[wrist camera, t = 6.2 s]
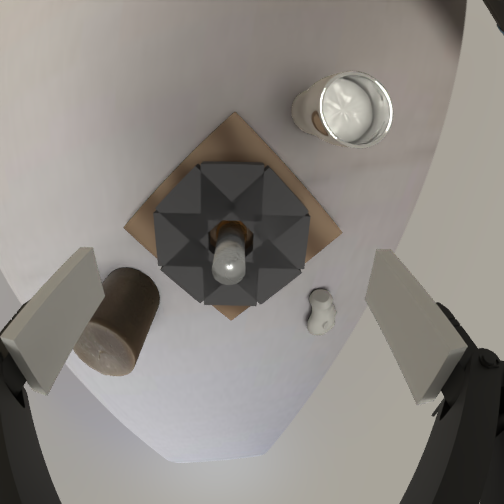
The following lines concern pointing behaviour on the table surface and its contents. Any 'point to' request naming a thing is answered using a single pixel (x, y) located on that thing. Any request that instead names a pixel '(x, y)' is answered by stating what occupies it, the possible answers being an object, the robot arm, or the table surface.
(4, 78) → the table surface
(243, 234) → the steel post
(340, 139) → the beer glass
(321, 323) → the smooth white sculpture
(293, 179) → the walnut base
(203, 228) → the dark grey faceted disc
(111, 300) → the pillar candle
